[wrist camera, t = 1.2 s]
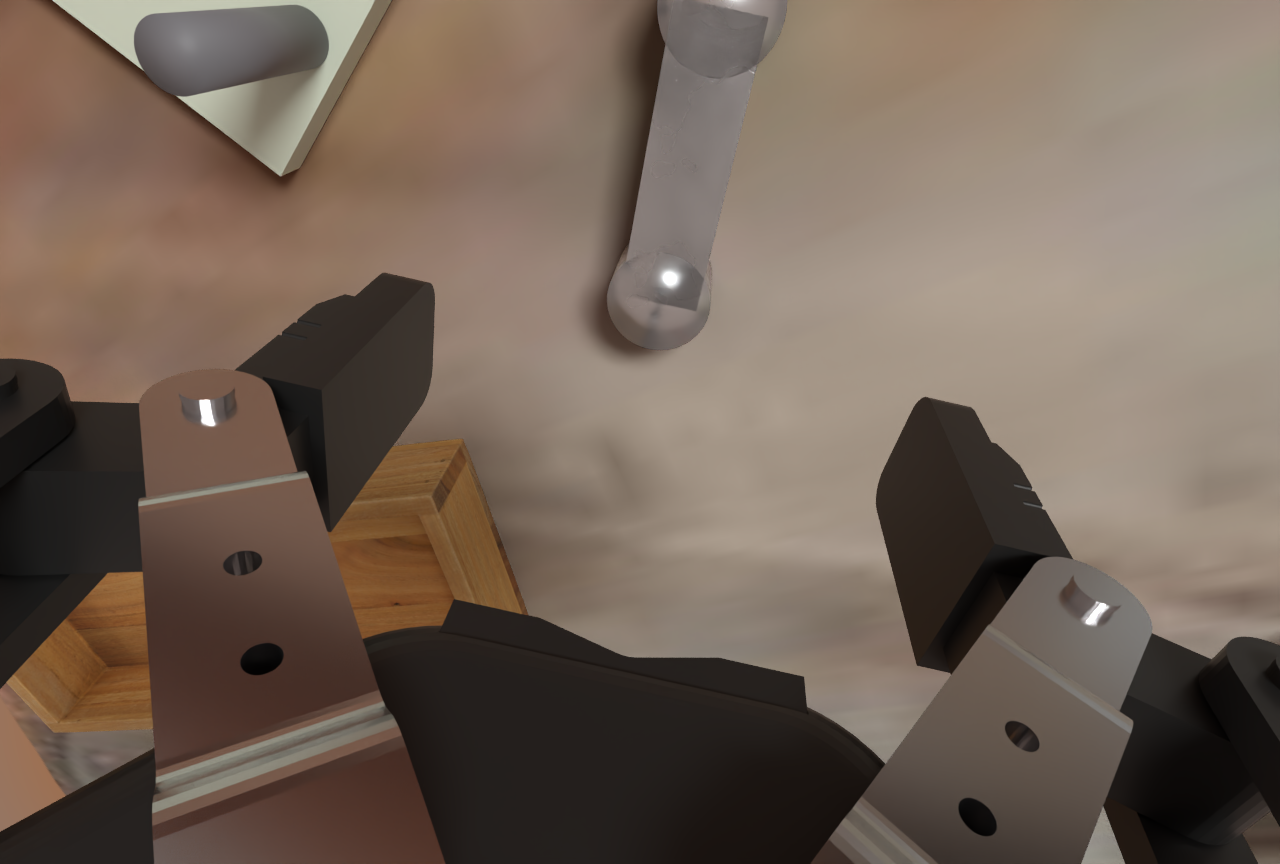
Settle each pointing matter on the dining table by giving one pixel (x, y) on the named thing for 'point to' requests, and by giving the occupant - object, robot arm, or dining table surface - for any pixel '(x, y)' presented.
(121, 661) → the tray
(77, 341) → the dining table surface
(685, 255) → the grey dumbbell
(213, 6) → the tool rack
